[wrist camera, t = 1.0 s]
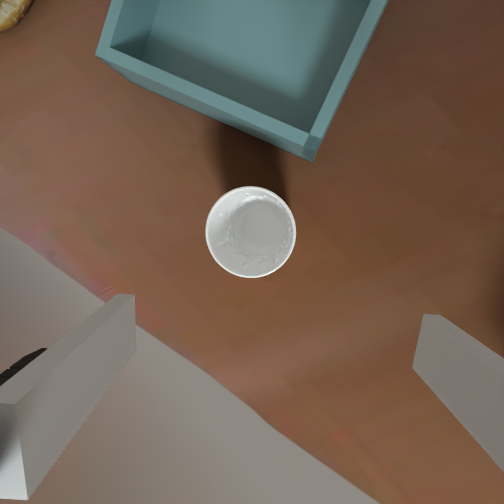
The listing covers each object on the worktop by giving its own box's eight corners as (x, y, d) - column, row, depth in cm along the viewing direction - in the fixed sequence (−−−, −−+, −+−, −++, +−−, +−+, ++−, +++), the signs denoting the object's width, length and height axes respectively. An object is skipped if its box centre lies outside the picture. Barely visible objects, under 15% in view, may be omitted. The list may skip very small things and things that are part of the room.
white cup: (249, 181, 34) (230, 169, 24) (308, 213, 33) (313, 213, 24) (220, 240, 35) (190, 250, 26) (276, 271, 35) (268, 294, 25)
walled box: (402, -28, 29) (429, -90, 23) (312, 162, 32) (315, 151, 27) (191, -106, 31) (165, -182, 25) (129, 81, 34) (95, 55, 29)
